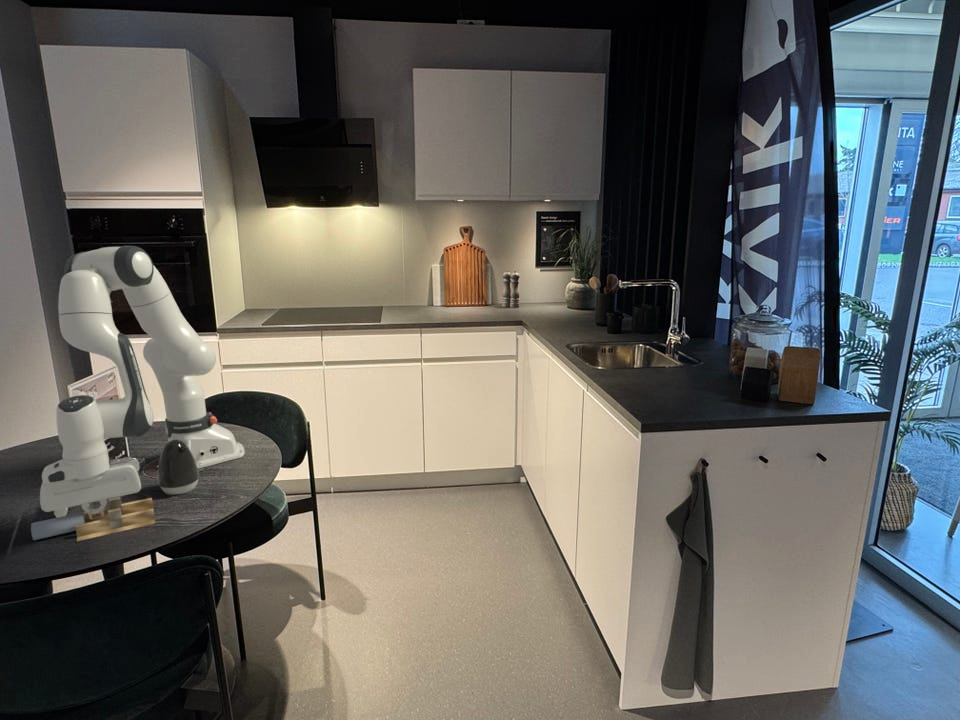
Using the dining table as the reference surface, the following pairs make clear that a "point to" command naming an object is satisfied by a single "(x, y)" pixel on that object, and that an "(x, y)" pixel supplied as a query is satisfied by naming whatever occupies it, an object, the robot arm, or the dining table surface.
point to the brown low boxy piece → (117, 518)
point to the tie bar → (60, 512)
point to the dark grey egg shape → (177, 468)
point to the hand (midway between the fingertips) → (97, 516)
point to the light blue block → (56, 526)
